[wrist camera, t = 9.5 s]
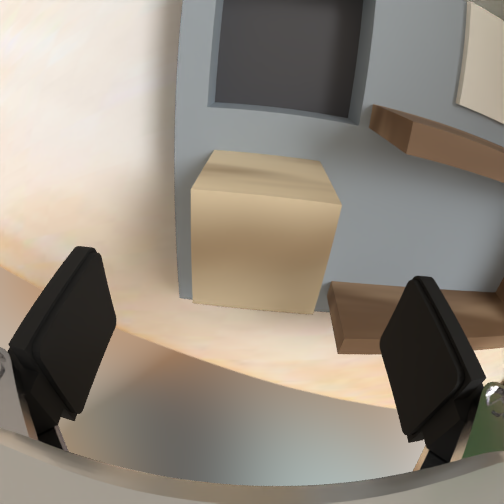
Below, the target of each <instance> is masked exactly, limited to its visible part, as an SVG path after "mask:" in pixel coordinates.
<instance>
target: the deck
mask: <svg viewBox="0 0 504 504" xmlns="http://www.w3.org/2000/svg"><path fill="white" fill-rule="evenodd" d="M373 104H375V105H380V106H384V107H388V108H391V109H395V110H399V111H403V112H406V113H410V114H413V115H417V116H420V117H423V118H427V119H430V120H433V121H436V122H439V123H442V124H445V125H448V126H451V127H454V128H457V129H459V130H462V131H465V132H468V133H470V134H473V135H475V136H478V137H481V138H483V139H485V140H488V141H490V142H493V143H495V144H497V145H500V146H502V147H504V20H502V19H501V18H499V17H497V16H496V15H494V14H492V13H491V12H489V11H487V10H486V9H484V8H482V7H481V6H479V5H477V4H475V3H473V2H471V1H470V2H466V1H464V0H183V3H182V13H181V24H180V35H179V48H178V63H177V81H176V105H175V221H176V246H177V266H178V282H179V296H180V298H183V299H192V300H193V295H192V264H191V188H192V186H193V185H194V183H195V181H196V179H197V178H198V176H199V174H200V173H201V171H202V169H203V168H204V166H205V164H206V163H207V161H208V159H209V158H210V156H211V154H212V153H213V151H214V150H224V151H236V152H248V153H258V154H268V155H277V156H285V157H293V158H301V159H308V160H316V161H320V162H321V164H322V166H323V168H324V170H325V172H326V174H327V176H328V178H329V180H330V182H331V184H332V186H333V188H334V190H335V192H336V194H337V196H338V198H339V200H340V202H341V204H342V208H341V212H340V216H339V220H338V224H337V228H336V232H335V236H334V240H333V244H332V248H331V252H330V256H329V260H328V263H327V267H326V271H325V274H324V278H323V282H322V285H321V289H320V292H319V296H318V299H317V303H316V306H315V309H314V311H320V312H330V310H329V305H328V300H327V294H328V291H329V287H330V284H331V281H338V282H350V283H362V284H375V285H388V286H402V287H406V285H407V283H408V281H409V280H412V279H413V277H415V276H429V277H432V278H433V279H434V280H435V282H436V283H437V285H438V287H439V288H440V289H445V290H461V291H478V292H496V290H497V289H498V287H499V285H500V283H501V281H502V279H503V277H504V183H502V182H500V181H497V180H494V179H491V178H488V177H485V176H482V175H479V174H476V173H473V172H469V171H466V170H463V169H460V168H456V167H453V166H449V165H446V164H442V163H439V162H435V161H431V160H427V159H424V158H420V157H416V156H412V155H408V154H405V153H404V152H402V151H401V150H400V149H398V148H397V147H396V146H394V145H393V144H391V143H390V142H389V141H387V140H386V139H384V138H383V137H382V136H380V135H379V134H377V133H376V132H374V131H373V130H371V129H370V128H369V124H370V118H371V113H372V107H373Z"/></svg>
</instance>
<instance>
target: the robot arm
mask: <svg viewBox="0 0 504 504" xmlns="http://www.w3.org/2000/svg"><path fill="white" fill-rule="evenodd" d="M115 326H116V315H115V311H114V308H113V304H112V300H111V296H110V292H109V288H108V284H107V280H106V275H105V271H104V267H103V262H102V257H101V255H100V254H99V253H97V252H96V250H95V248H92V247H82V246H77V247H75V248H74V250H73V251H72V252H71V253H70V255H69V256H68V257H67V259H66V260H65V261H64V262H63V264H62V265H61V266H60V268H59V269H58V271H57V272H56V273H55V275H54V276H53V277H52V279H51V280H50V281H49V283H48V284H47V286H46V287H45V289H44V290H43V291H42V293H41V294H40V296H39V297H38V299H37V300H36V302H35V303H34V305H33V306H32V308H31V309H30V311H29V312H28V314H27V315H26V317H25V318H24V320H23V321H22V323H21V325H20V326H19V328H18V329H17V331H16V333H15V334H14V336H13V338H12V339H11V341H10V343H9V346H10V348H9V350H8V352H7V351H6V350H5V349H3V348H1V347H0V504H504V384H500V383H498V382H490V383H488V384H486V385H485V386H484V387H483V384H482V382H483V381H484V380H485V379H486V376H485V374H484V372H483V370H482V368H481V365H480V363H479V361H478V359H477V357H476V355H475V353H474V351H473V349H472V347H471V345H470V343H469V341H468V339H467V337H466V335H465V333H464V331H463V329H462V327H461V325H460V324H459V322H458V320H457V318H456V316H455V314H454V313H453V311H452V309H451V307H450V305H449V304H448V302H447V300H446V299H445V297H444V295H443V293H442V292H441V290H440V288H439V287H438V285H437V283H436V282H435V280H434V279H433V278H432V277H429V276H415V277H413V279H412V280H409V281H408V283H407V285H406V287H405V289H404V291H403V294H402V296H401V298H400V300H399V302H398V304H397V306H396V308H395V310H394V312H393V314H392V316H391V318H390V320H389V322H388V324H387V326H386V328H385V330H384V332H383V334H382V336H381V338H380V343H379V347H380V351H381V354H382V357H383V361H384V364H385V368H386V371H387V374H388V378H389V382H390V385H391V389H392V392H393V396H394V400H395V404H396V408H397V411H398V415H399V419H400V423H401V428H402V431H403V433H404V434H405V435H407V438H408V442H409V443H410V442H415V441H420V440H423V439H424V440H425V444H426V445H425V447H424V450H423V452H422V454H421V456H420V458H419V460H418V462H417V464H416V466H415V468H414V469H413V471H412V472H408V473H404V474H399V475H394V476H388V477H382V478H376V479H370V480H363V481H356V482H346V483H336V484H324V485H308V486H245V485H230V484H229V485H228V484H218V483H208V482H199V481H191V480H184V479H177V478H170V477H165V476H159V475H154V474H149V473H144V472H139V471H135V470H131V469H127V468H122V467H118V466H114V465H111V464H107V463H103V462H100V461H97V460H93V459H90V458H86V457H83V456H80V455H77V454H74V453H71V452H69V451H68V449H67V446H66V444H65V442H64V439H63V437H62V434H61V432H60V429H59V426H58V423H59V420H60V417H63V418H66V419H69V420H72V421H75V418H76V416H77V414H80V413H81V412H82V411H83V409H84V405H85V403H86V400H87V397H88V395H89V392H90V389H91V386H92V384H93V381H94V378H95V376H96V373H97V371H98V368H99V366H100V363H101V360H102V358H103V356H104V353H105V350H106V348H107V345H108V343H109V341H110V338H111V336H112V333H113V331H114V329H115Z"/></svg>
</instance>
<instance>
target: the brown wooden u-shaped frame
mask: <svg viewBox="0 0 504 504" xmlns="http://www.w3.org/2000/svg"><path fill="white" fill-rule="evenodd" d="M369 128H370V129H371V130H373V131H374V132H376V133H377V134H379V135H380V136H382V137H383V138H384V139H386V140H387V141H389V142H390V143H391V144H393V145H394V146H396V147H397V148H398V149H400V150H401V151H402V152H404V153H405V154H408V155H412V156H416V157H420V158H424V159H427V160H431V161H435V162H439V163H442V164H446V165H449V166H453V167H456V168H460V169H463V170H466V171H469V172H473V173H476V174H479V175H482V176H485V177H488V178H491V179H494V180H497V181H500V182H502V183H504V147H502V146H500V145H497V144H495V143H493V142H490V141H488V140H485V139H483V138H481V137H478V136H475V135H473V134H470V133H468V132H465V131H462V130H459V129H457V128H454V127H451V126H448V125H445V124H442V123H439V122H436V121H433V120H430V119H427V118H423V117H420V116H417V115H413V114H410V113H406V112H403V111H399V110H395V109H391V108H388V107H384V106H380V105H375V104H373V107H372V113H371V118H370V124H369ZM404 289H405V287H402V286H388V285H375V284H362V283H350V282H338V281H331V284H330V287H329V291H328V294H327V300H328V305H329V310H330V315H331V320H332V325H333V331H334V336H335V341H336V347H337V352H338V354H381V351H380V347H379V343H380V338H381V336H382V334H383V332H384V330H385V328H386V326H387V324H388V322H389V320H390V318H391V316H392V314H393V312H394V310H395V308H396V306H397V304H398V302H399V300H400V298H401V296H402V294H403V291H404ZM440 290H441V292H442V293H443V295H444V297H445V299H446V300H447V302H448V304H449V305H450V307H451V309H452V311H453V313H454V314H455V316H456V318H457V320H458V322H459V324H460V325H461V327H462V329H463V331H464V333H465V335H466V337H467V339H468V341H469V343H470V345H471V347H472V349H473V350H483V349H493V348H502V347H504V277H503V279H502V281H501V283H500V285H499V287H498V289H497V290H496V292H478V291H461V290H445V289H440Z"/></svg>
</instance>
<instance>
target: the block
mask: <svg viewBox="0 0 504 504" xmlns="http://www.w3.org/2000/svg"><path fill="white" fill-rule="evenodd" d="M341 208H342V204H341V202H340V200H339V198H338V196H337V194H336V192H335V190H334V188H333V186H332V184H331V182H330V180H329V178H328V176H327V174H326V172H325V170H324V168H323V166H322V164H321V162H320V161H316V160H308V159H301V158H293V157H285V156H277V155H268V154H258V153H248V152H236V151H224V150H214V151H213V153H212V154H211V156H210V158H209V159H208V161H207V163H206V164H205V166H204V168H203V169H202V171H201V173H200V174H199V176H198V178H197V179H196V181H195V183H194V185H193V186H192V188H191V264H192V295H193V303H196V304H205V305H213V306H222V307H232V308H242V309H252V310H263V311H274V312H286V313H299V314H313V313H314V309H315V306H316V303H317V299H318V296H319V292H320V289H321V285H322V282H323V278H324V274H325V271H326V267H327V263H328V260H329V256H330V252H331V248H332V244H333V240H334V236H335V232H336V228H337V224H338V220H339V216H340V212H341Z"/></svg>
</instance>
